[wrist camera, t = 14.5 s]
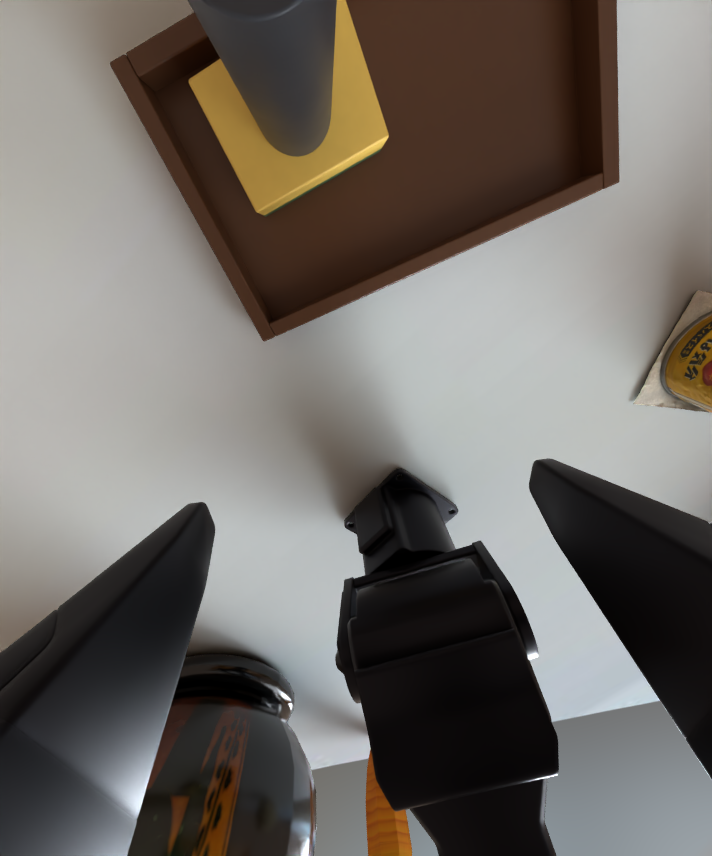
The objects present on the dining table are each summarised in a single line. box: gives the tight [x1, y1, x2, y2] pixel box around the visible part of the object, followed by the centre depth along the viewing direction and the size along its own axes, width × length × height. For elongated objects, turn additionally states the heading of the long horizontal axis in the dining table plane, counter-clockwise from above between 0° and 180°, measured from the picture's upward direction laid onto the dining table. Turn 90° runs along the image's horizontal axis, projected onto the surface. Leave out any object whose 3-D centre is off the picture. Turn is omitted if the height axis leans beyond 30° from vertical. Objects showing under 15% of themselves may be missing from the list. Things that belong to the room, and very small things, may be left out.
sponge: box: [188, 0, 389, 217], centre depth 10 cm, size 6×4×12 cm
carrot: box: [366, 750, 412, 856], centre depth 38 cm, size 5×5×15 cm
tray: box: [110, 0, 619, 341], centre depth 15 cm, size 18×11×2 cm, turn 112°
